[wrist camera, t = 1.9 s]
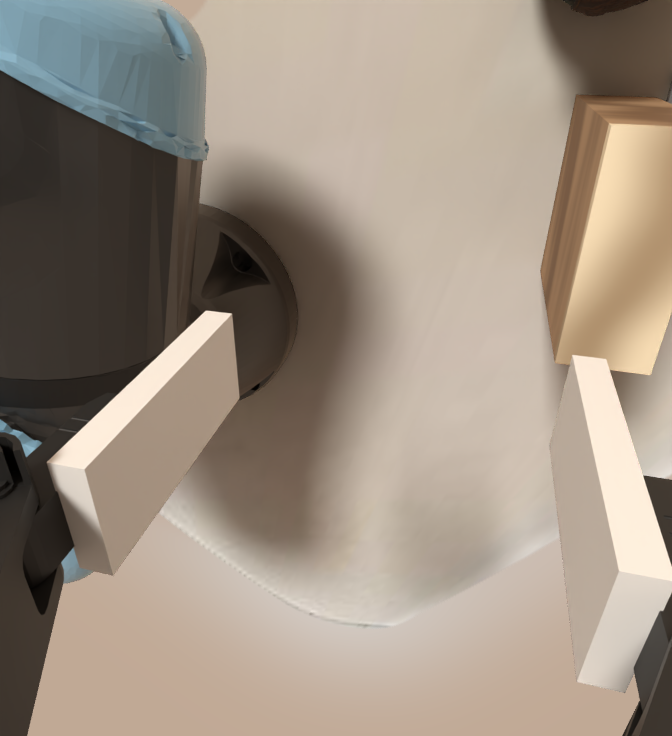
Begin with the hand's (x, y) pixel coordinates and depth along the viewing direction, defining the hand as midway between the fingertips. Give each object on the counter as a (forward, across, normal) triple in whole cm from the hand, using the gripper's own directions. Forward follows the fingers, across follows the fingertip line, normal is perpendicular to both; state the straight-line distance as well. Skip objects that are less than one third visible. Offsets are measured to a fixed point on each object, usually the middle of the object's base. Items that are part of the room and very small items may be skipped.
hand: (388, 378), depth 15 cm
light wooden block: (+23, +8, 0) cm, 25 cm away
